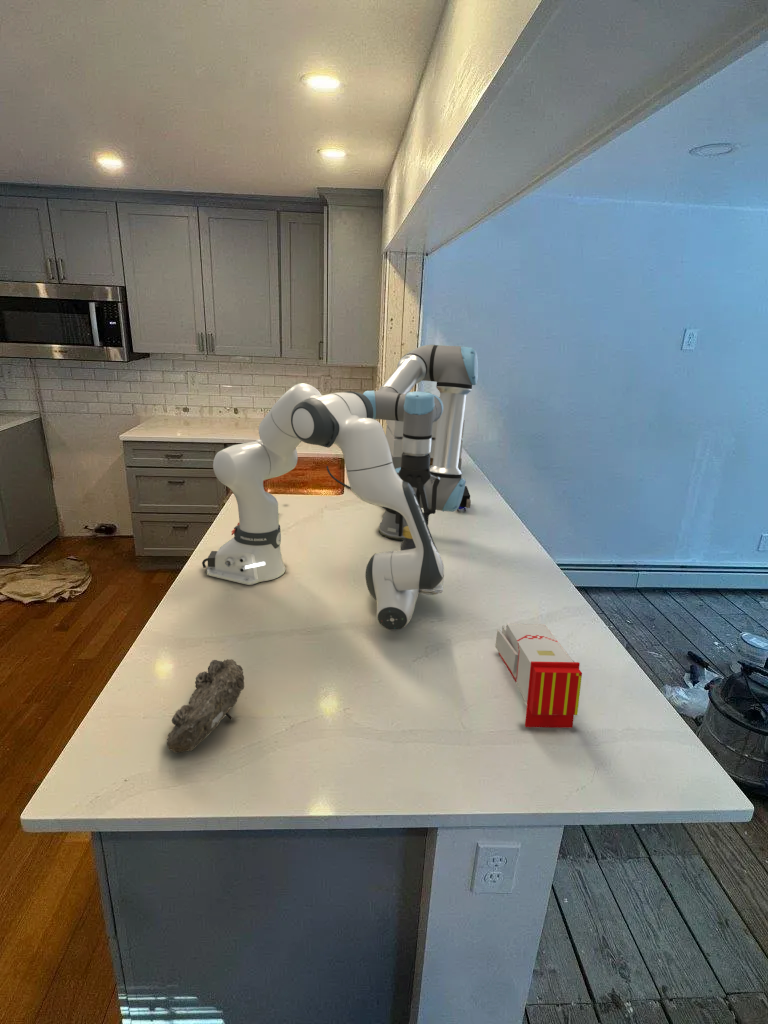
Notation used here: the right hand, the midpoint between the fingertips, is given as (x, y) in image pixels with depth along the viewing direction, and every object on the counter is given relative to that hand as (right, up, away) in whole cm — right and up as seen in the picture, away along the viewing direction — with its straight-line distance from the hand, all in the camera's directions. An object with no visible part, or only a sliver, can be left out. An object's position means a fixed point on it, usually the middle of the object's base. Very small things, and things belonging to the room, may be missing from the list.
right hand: (410, 535), depth 155 cm
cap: (0, +2, -1) cm, 2 cm away
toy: (+24, -31, -33) cm, 51 cm away
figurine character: (+23, +8, +74) cm, 78 cm away
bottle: (-1, -15, +6) cm, 16 cm away
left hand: (0, -9, +4) cm, 10 cm away
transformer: (+10, +25, +120) cm, 123 cm away
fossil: (-40, -33, -47) cm, 70 cm away
